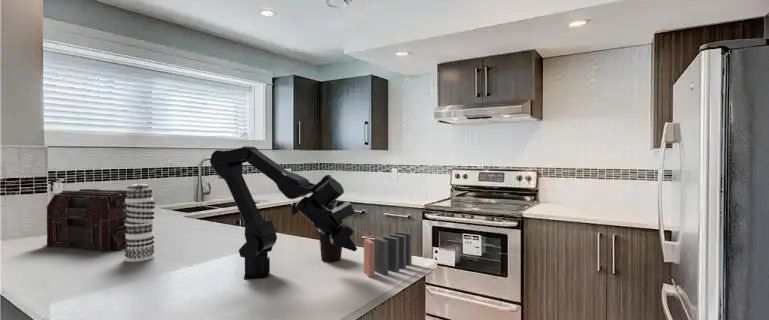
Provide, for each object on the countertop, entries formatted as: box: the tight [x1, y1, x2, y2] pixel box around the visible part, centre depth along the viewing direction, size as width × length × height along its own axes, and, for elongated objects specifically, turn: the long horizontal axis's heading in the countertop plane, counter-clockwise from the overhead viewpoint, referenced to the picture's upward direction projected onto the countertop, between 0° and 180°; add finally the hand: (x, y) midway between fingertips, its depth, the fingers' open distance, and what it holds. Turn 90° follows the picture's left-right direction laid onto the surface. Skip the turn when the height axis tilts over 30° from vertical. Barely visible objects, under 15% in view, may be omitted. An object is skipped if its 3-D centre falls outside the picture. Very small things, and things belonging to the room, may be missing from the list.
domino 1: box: [363, 238, 375, 278], centre depth 113 cm, size 2×5×10 cm, turn 20°
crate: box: [46, 188, 127, 253], centre depth 150 cm, size 35×19×21 cm, turn 75°
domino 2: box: [373, 237, 389, 276], centre depth 115 cm, size 2×5×10 cm, turn 34°
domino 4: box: [389, 233, 407, 270], centre depth 121 cm, size 2×5×10 cm, turn 60°
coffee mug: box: [317, 229, 343, 263], centre depth 130 cm, size 12×9×10 cm
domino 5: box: [395, 231, 413, 266], centre depth 125 cm, size 2×5×10 cm, turn 61°
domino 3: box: [382, 235, 400, 273], centre depth 118 cm, size 2×5×10 cm, turn 51°
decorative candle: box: [123, 183, 156, 263], centre depth 130 cm, size 9×9×25 cm
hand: (355, 249), depth 112 cm, fingers closed
